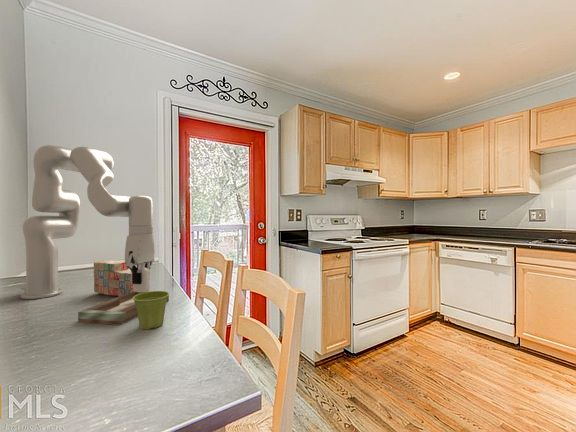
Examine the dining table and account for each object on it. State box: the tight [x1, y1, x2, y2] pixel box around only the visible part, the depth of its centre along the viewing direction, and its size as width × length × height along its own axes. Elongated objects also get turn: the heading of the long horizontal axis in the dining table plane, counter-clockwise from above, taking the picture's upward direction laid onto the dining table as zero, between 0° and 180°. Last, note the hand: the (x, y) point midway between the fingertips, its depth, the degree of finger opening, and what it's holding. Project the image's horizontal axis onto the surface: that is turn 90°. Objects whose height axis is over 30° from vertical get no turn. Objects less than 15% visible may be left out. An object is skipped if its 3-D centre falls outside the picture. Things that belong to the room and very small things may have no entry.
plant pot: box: [133, 290, 170, 330], centre depth 80 cm, size 9×9×9 cm
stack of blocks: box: [93, 259, 134, 297], centre depth 110 cm, size 21×6×12 cm, turn 66°
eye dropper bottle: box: [133, 263, 150, 292], centre depth 99 cm, size 4×6×12 cm
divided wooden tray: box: [77, 290, 170, 326], centre depth 93 cm, size 14×24×3 cm, turn 171°
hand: (141, 282), depth 99 cm, fingers closed on eye dropper bottle, 3 cm apart
